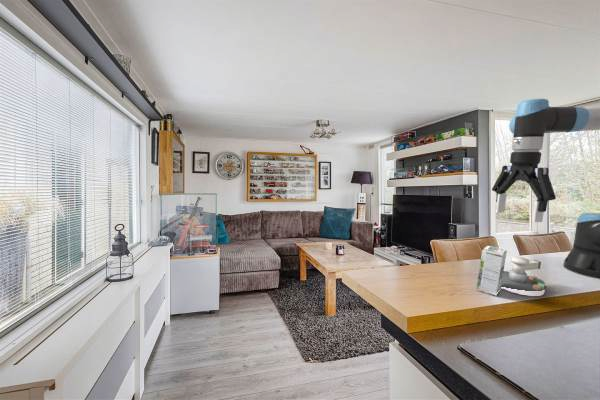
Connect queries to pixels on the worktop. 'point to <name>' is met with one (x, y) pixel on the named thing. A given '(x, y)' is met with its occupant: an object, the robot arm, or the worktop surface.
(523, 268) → the peg
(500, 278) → the syrup box
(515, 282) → the grey shoe
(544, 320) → the worktop surface
